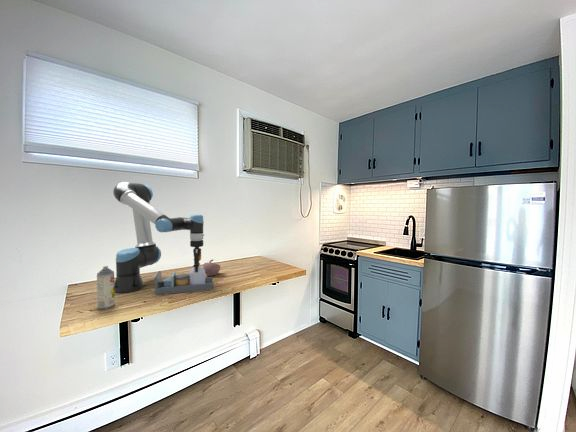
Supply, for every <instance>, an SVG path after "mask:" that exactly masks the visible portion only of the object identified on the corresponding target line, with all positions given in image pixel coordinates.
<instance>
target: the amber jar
mask: <svg viewBox="0 0 576 432" xmlns="http://www.w3.org/2000/svg"><path fill="white" fill-rule="evenodd" d="M186 285H189V273H179V274H176V276H175V286H186Z"/></svg>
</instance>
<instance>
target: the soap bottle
mask: <svg viewBox="0 0 576 432" xmlns="http://www.w3.org/2000/svg"><path fill="white" fill-rule="evenodd" d="M193 249H194V250H195V247H193ZM199 249H200V256H199V277H197V278H194V267H192V268H191V269H190V270H189V273H188V274H189V285H197V284H205V278H206V274H205V270H204V269H203V266H201V263H200V261H201V260H202V248H201V247H199Z"/></svg>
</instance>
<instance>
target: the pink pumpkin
mask: <svg viewBox="0 0 576 432" xmlns="http://www.w3.org/2000/svg"><path fill="white" fill-rule="evenodd" d="M213 261H214V259H211V260H209V261H207V262H204V263H203V265H202V268H203V269H204V270H205V276H209V277H213V276H216V275H218V274H219V272H220V271H221V265H220V264H219V263H216V262H213Z"/></svg>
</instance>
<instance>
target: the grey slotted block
mask: <svg viewBox="0 0 576 432" xmlns="http://www.w3.org/2000/svg"><path fill="white" fill-rule="evenodd" d="M164 281H165V280H163V281H162V270H160V271H158V272H157V274H156V275H155V277H154V296H157V295H159V296H160V295H168V294H178V293H180V294H181V293H190V292H200V291H208V290H214V282H213V281H214V280H213V276H209V277H205V284H197V285H186V286H175V287H164Z"/></svg>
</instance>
